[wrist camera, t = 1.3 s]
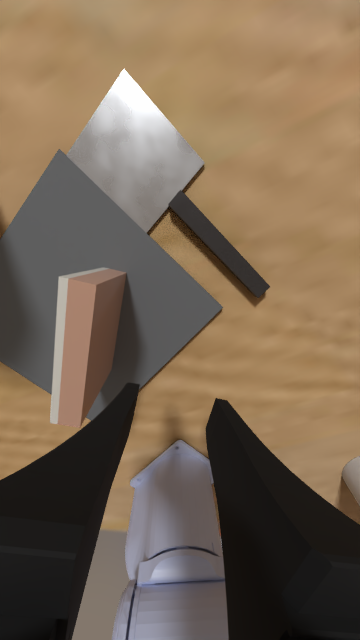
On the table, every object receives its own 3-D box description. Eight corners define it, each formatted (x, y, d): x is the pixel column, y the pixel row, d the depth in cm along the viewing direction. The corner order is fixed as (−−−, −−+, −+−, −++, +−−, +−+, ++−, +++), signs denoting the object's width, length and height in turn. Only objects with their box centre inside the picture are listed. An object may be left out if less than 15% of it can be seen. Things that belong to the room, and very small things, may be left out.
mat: (102, 423, 24) (100, 426, 24) (-50, 323, 20) (-56, 324, 20) (221, 306, 20) (222, 307, 20) (62, 151, 16) (59, 148, 16)
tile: (126, 272, 19) (96, 284, 11) (111, 369, 21) (79, 427, 14) (103, 267, 18) (58, 276, 11) (91, 365, 21) (50, 422, 14)
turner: (288, 262, 19) (295, 263, 18) (232, 316, 21) (235, 319, 19) (124, 72, 15) (121, 58, 14) (68, 157, 16) (60, 150, 15)
